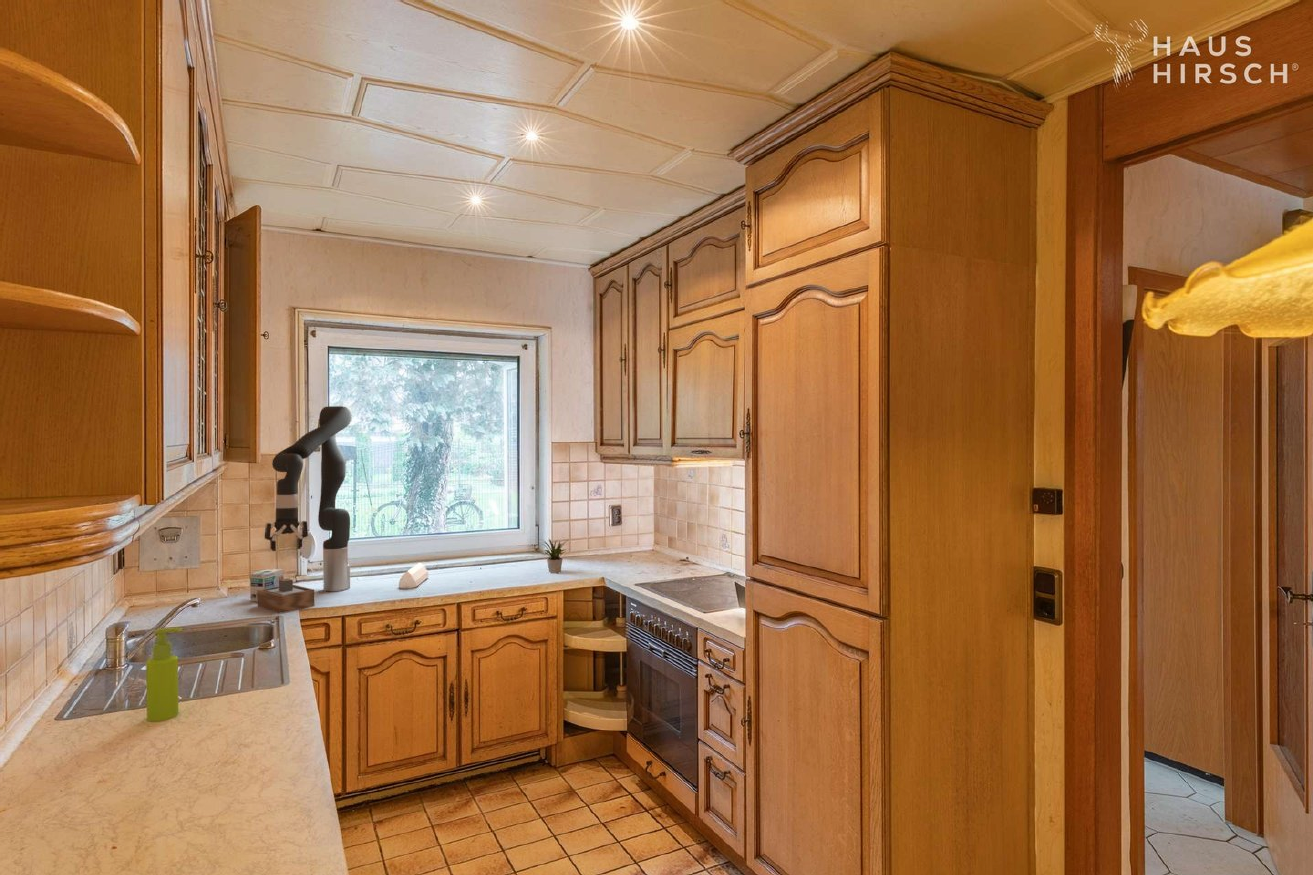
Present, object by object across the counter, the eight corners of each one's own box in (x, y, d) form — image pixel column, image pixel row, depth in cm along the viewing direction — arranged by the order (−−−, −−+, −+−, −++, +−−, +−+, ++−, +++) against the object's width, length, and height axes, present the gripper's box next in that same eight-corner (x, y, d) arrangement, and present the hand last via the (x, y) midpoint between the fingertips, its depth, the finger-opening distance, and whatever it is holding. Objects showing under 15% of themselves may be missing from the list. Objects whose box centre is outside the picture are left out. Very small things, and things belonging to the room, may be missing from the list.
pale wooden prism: (408, 568, 313) (392, 580, 289) (422, 560, 314) (407, 571, 290) (417, 583, 314) (401, 595, 290) (431, 574, 314) (416, 586, 290)
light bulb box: (264, 602, 268) (264, 574, 268) (249, 601, 270) (249, 573, 269) (284, 595, 279) (284, 568, 279) (270, 595, 280) (269, 568, 280)
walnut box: (291, 599, 272) (291, 584, 272) (314, 605, 262) (314, 589, 262) (257, 606, 262) (257, 590, 262) (280, 612, 252) (280, 596, 252)
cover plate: (288, 588, 269) (288, 576, 269) (304, 592, 262) (304, 579, 262) (266, 592, 262) (266, 579, 262) (283, 596, 255) (283, 583, 255)
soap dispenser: (178, 719, 159) (177, 630, 159) (142, 723, 157) (141, 633, 157) (187, 709, 164) (186, 624, 164) (153, 712, 163) (151, 626, 162)
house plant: (530, 574, 318) (530, 538, 317) (544, 568, 331) (544, 533, 331) (559, 576, 313) (559, 539, 313) (572, 570, 327) (572, 535, 326)
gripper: (304, 505, 272) (303, 547, 272) (263, 506, 262) (262, 550, 262) (310, 506, 267) (309, 549, 266) (268, 508, 257) (268, 552, 257)
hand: (286, 549), depth 264 cm, fingers open, 8 cm apart
